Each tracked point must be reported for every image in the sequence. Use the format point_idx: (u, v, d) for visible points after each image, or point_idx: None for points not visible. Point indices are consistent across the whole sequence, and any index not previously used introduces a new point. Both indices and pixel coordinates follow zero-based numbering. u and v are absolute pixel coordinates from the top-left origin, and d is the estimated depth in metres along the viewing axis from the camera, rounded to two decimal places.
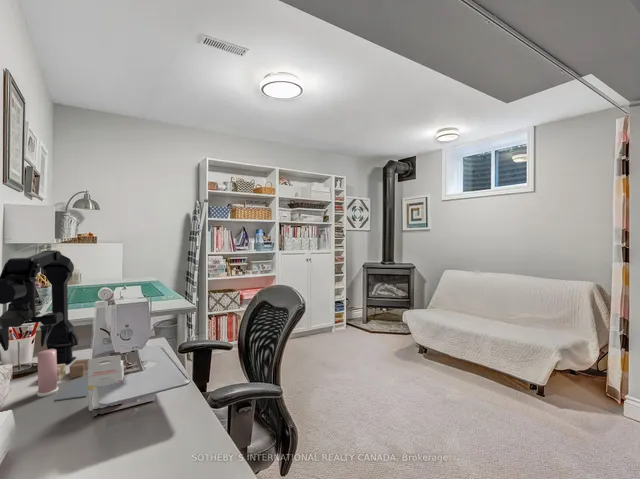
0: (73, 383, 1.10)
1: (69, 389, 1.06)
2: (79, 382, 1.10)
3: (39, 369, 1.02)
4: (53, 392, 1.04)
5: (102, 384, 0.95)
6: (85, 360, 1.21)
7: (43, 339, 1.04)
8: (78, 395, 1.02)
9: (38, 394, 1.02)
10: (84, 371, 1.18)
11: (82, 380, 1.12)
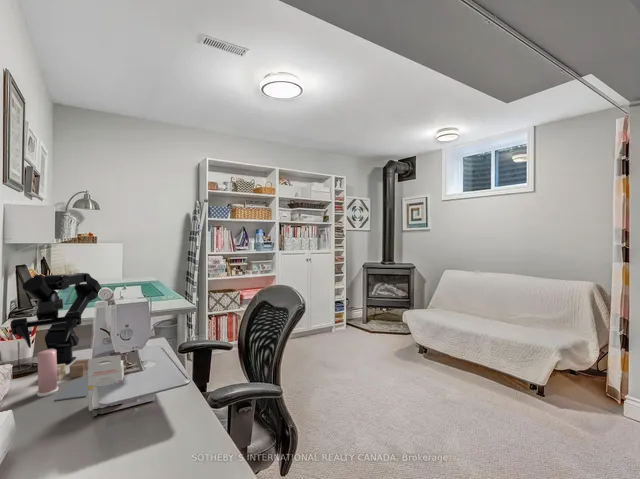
0: (73, 383, 1.10)
1: (69, 389, 1.06)
2: (79, 382, 1.10)
3: (39, 369, 1.02)
4: (53, 392, 1.04)
5: (102, 384, 0.95)
6: (85, 360, 1.21)
7: (67, 333, 1.15)
8: (78, 395, 1.02)
9: (38, 394, 1.02)
10: (84, 371, 1.18)
11: (82, 380, 1.12)
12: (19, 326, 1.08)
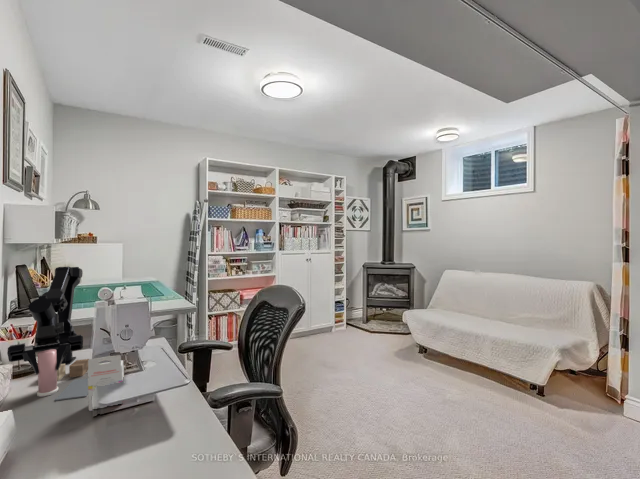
0: (73, 383, 1.10)
1: (69, 389, 1.06)
2: (79, 382, 1.10)
3: (39, 369, 1.02)
4: (53, 392, 1.04)
5: (102, 384, 0.95)
6: (85, 360, 1.21)
7: (60, 361, 1.06)
8: (78, 395, 1.02)
9: (38, 394, 1.02)
10: (83, 371, 1.18)
11: (82, 380, 1.12)
12: (26, 351, 1.02)
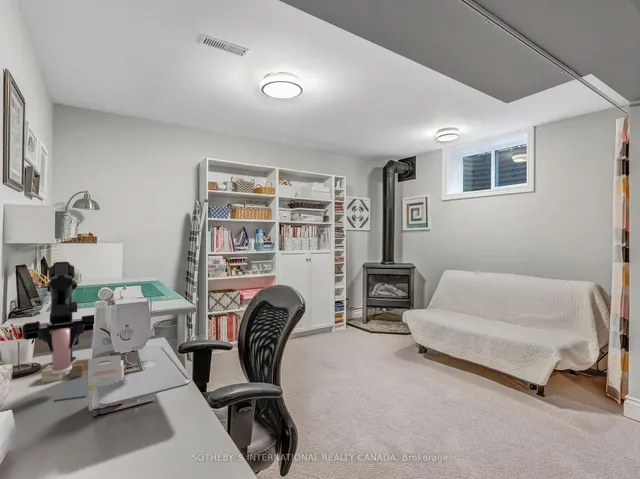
0: (73, 383, 1.10)
1: (69, 389, 1.06)
2: (79, 382, 1.10)
3: (53, 347, 1.03)
4: (67, 370, 1.05)
5: (102, 384, 0.95)
6: (85, 360, 1.21)
7: (73, 339, 1.07)
8: (78, 395, 1.02)
9: (52, 372, 1.03)
10: (83, 371, 1.18)
11: (82, 380, 1.12)
12: (40, 329, 1.03)
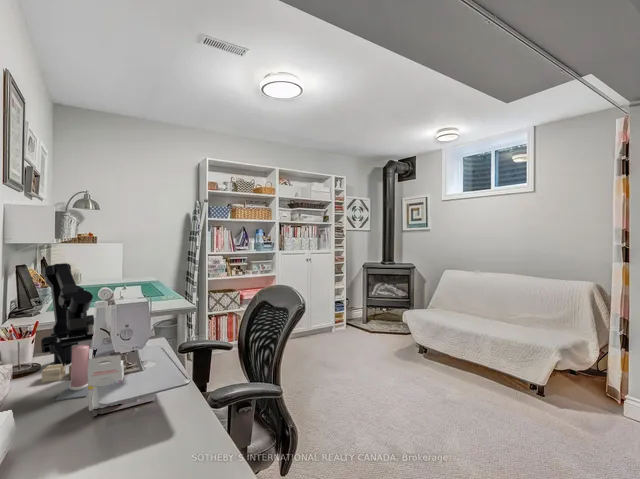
0: None
1: (69, 389, 1.06)
2: None
3: (73, 363, 1.05)
4: (85, 387, 1.06)
5: (102, 384, 0.95)
6: None
7: (95, 351, 1.09)
8: (78, 395, 1.02)
9: (71, 388, 1.05)
10: None
11: None
12: (53, 344, 1.04)
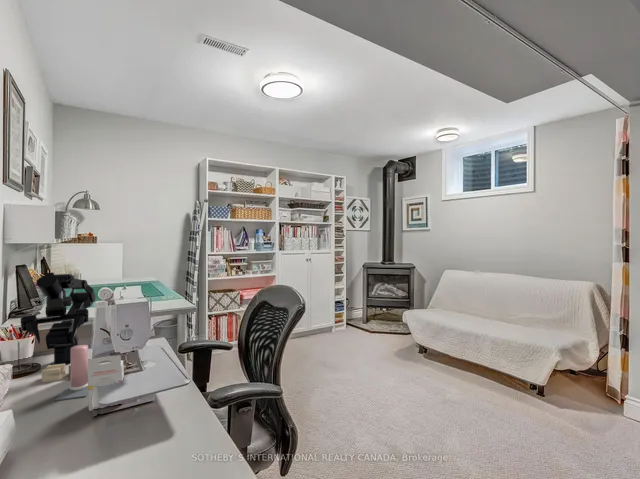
0: None
1: (69, 389, 1.06)
2: None
3: (72, 364, 1.05)
4: (85, 387, 1.06)
5: (102, 384, 0.95)
6: None
7: (75, 330, 1.18)
8: (78, 395, 1.02)
9: (70, 388, 1.05)
10: None
11: None
12: (29, 322, 1.12)
